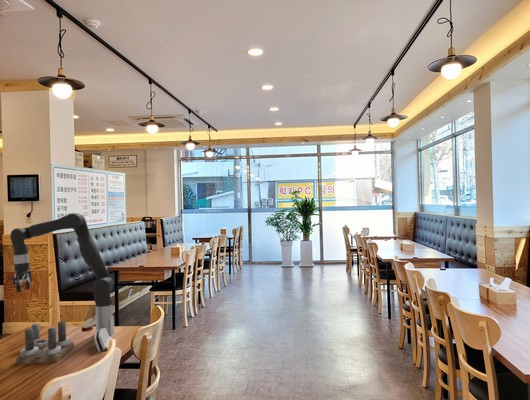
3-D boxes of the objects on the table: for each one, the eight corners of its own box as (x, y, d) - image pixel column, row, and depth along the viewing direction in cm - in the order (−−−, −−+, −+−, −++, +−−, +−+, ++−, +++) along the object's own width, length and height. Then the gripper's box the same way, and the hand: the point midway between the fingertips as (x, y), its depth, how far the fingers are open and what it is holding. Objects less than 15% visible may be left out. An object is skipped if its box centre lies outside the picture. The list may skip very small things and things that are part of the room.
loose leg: (40, 345, 209) (40, 323, 209) (37, 347, 205) (37, 325, 205) (34, 345, 208) (33, 323, 209) (30, 348, 205) (30, 325, 205)
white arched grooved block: (108, 350, 199) (101, 333, 198) (99, 354, 198) (92, 337, 197) (113, 339, 215) (106, 323, 214) (105, 343, 214) (98, 327, 213)
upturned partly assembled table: (73, 347, 204) (73, 319, 204) (57, 362, 185) (57, 331, 185) (36, 349, 202) (36, 321, 203) (16, 364, 184) (15, 333, 184)
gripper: (20, 263, 214) (22, 292, 213) (35, 260, 228) (37, 287, 227) (7, 264, 214) (8, 293, 213) (22, 262, 228) (24, 289, 227)
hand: (23, 290), depth 220 cm, fingers open, 8 cm apart
